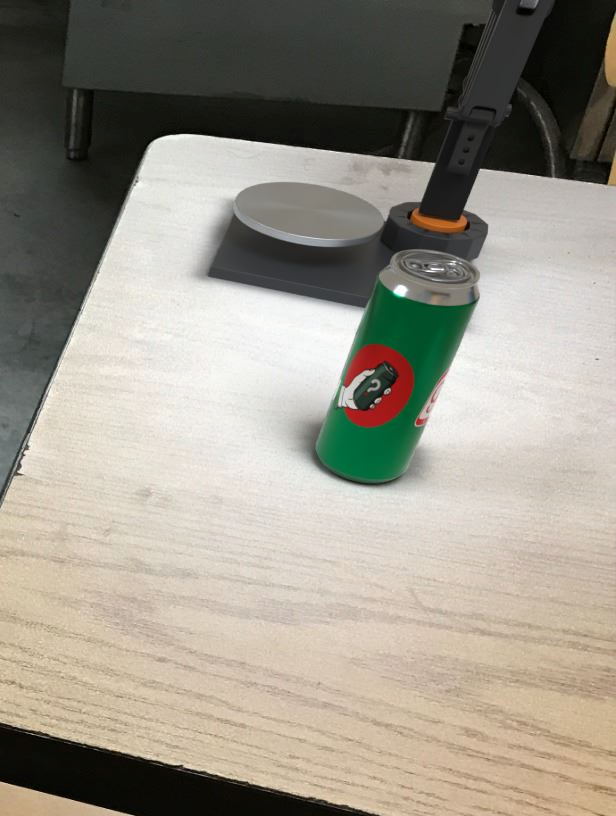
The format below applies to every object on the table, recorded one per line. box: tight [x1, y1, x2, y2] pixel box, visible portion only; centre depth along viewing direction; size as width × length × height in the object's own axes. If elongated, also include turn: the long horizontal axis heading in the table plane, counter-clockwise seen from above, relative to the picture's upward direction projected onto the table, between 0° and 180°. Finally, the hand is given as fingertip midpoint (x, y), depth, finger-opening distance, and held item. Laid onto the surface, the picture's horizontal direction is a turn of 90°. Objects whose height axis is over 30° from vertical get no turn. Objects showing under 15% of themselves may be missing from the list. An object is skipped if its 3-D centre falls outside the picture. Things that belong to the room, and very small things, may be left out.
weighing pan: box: [232, 181, 385, 247], centre depth 95 cm, size 10×10×1 cm
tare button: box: [410, 208, 467, 233], centre depth 96 cm, size 4×4×2 cm
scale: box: [207, 201, 489, 309], centre depth 96 cm, size 17×14×4 cm
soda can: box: [314, 249, 481, 485], centre depth 74 cm, size 5×5×12 cm
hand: (439, 212), depth 95 cm, fingers closed
